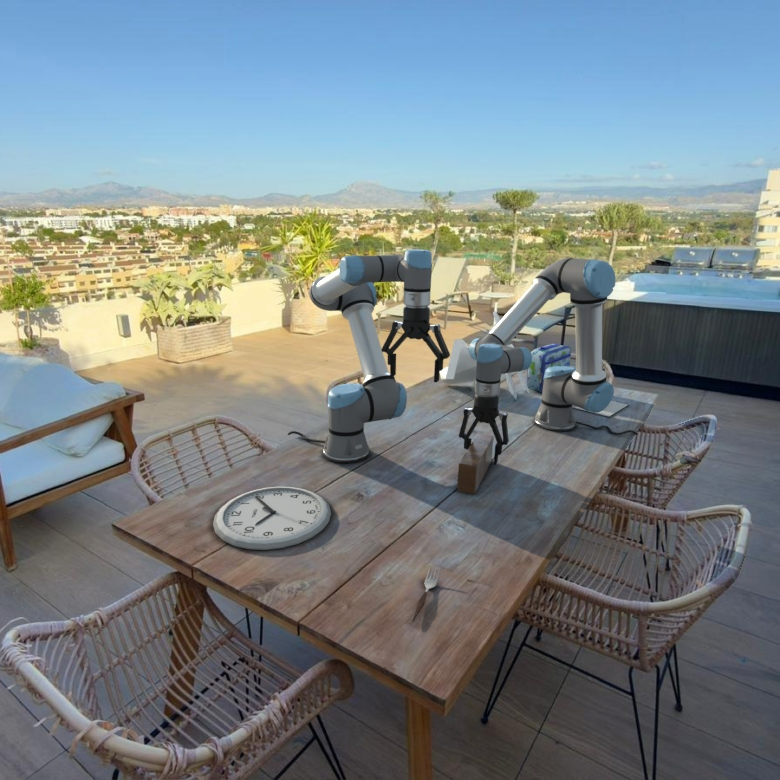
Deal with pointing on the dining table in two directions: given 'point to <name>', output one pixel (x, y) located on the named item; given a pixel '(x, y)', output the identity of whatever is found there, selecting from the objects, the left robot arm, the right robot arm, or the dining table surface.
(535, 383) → the lunch box
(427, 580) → the fork
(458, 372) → the white plastic object
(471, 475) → the bar
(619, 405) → the invitation card
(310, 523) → the wall clock
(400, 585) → the dining table surface
